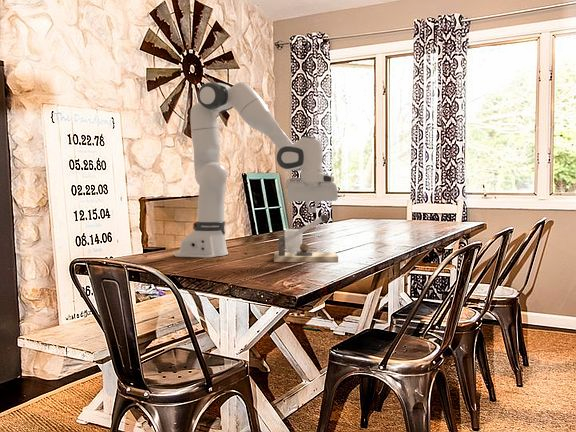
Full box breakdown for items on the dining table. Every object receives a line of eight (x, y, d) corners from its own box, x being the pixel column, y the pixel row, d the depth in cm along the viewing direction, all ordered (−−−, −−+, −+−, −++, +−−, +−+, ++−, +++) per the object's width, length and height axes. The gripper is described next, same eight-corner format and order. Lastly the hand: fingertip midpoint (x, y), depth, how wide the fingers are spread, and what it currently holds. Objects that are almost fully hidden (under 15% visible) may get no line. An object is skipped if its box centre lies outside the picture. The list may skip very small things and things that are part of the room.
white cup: (300, 254, 235) (300, 231, 235) (282, 253, 237) (282, 230, 236) (304, 251, 243) (304, 229, 242) (286, 251, 245) (286, 228, 244)
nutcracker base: (274, 261, 215) (273, 238, 214) (274, 257, 227) (274, 235, 226) (338, 261, 215) (338, 238, 214) (335, 257, 227) (335, 235, 226)
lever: (280, 247, 217) (277, 241, 217) (280, 245, 224) (277, 239, 224) (329, 219, 217) (325, 213, 216) (327, 218, 223) (324, 212, 223)
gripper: (285, 178, 215) (286, 213, 216) (338, 177, 215) (338, 212, 216) (285, 178, 222) (286, 212, 223) (336, 177, 222) (336, 211, 223)
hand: (312, 212), depth 220 cm, fingers closed
